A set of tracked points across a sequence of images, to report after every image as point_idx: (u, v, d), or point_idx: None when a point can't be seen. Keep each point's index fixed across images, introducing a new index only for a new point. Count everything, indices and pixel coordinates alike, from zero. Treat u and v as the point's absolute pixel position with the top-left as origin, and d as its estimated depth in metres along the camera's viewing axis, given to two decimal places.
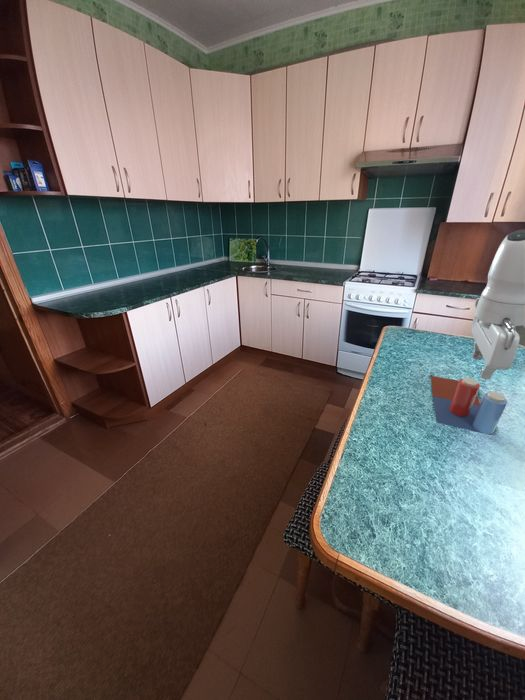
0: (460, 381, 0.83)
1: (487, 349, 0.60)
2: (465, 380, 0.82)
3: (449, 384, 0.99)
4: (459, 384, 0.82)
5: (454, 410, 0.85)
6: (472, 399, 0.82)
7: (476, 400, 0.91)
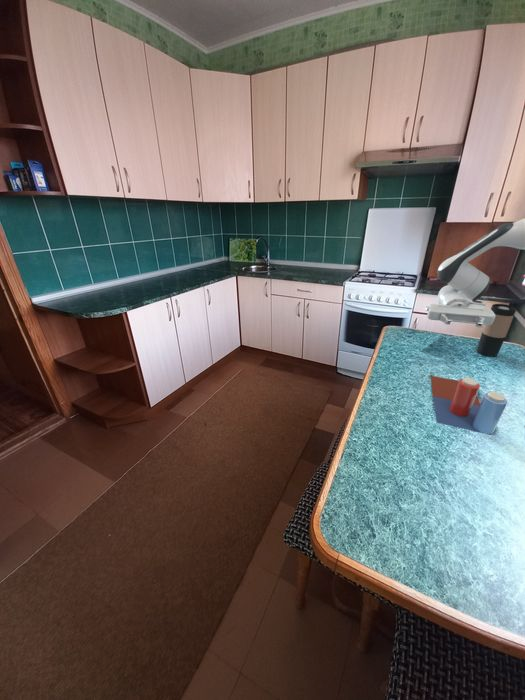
0: (460, 381, 0.83)
1: None
2: (465, 380, 0.82)
3: (449, 384, 0.99)
4: (459, 384, 0.82)
5: (454, 410, 0.85)
6: (472, 399, 0.82)
7: (476, 400, 0.91)
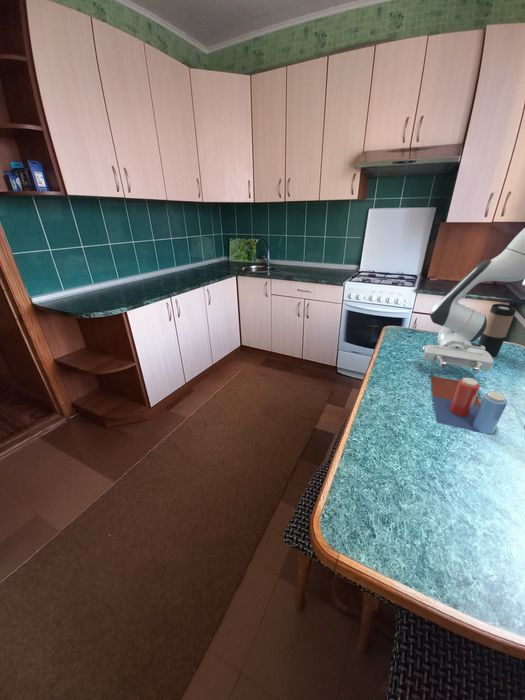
0: (460, 381, 0.83)
1: None
2: (465, 380, 0.82)
3: (449, 384, 0.99)
4: (459, 384, 0.82)
5: (454, 410, 0.85)
6: (472, 399, 0.82)
7: (476, 400, 0.91)
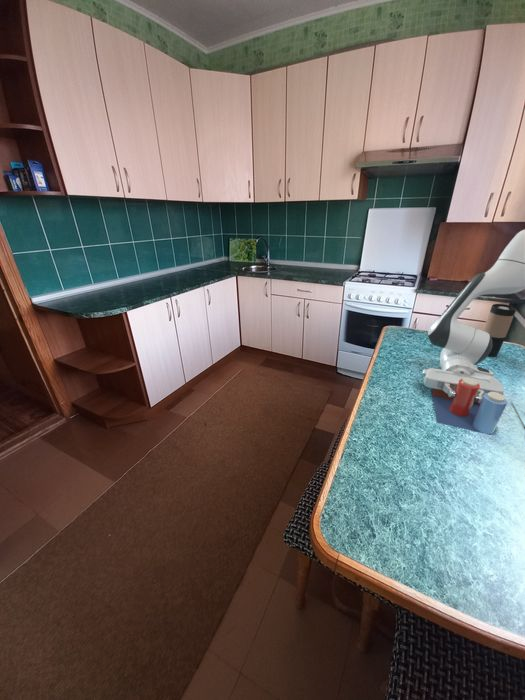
0: (460, 381, 0.83)
1: None
2: (465, 380, 0.82)
3: None
4: (459, 384, 0.82)
5: (454, 410, 0.85)
6: (472, 399, 0.82)
7: None
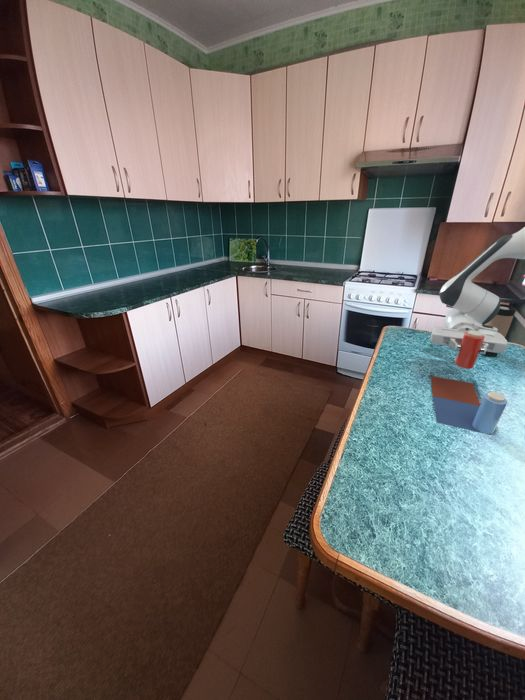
0: (465, 333, 0.86)
1: None
2: (470, 332, 0.85)
3: (449, 384, 0.99)
4: (464, 336, 0.86)
5: (460, 363, 0.88)
6: (477, 350, 0.85)
7: (476, 400, 0.91)
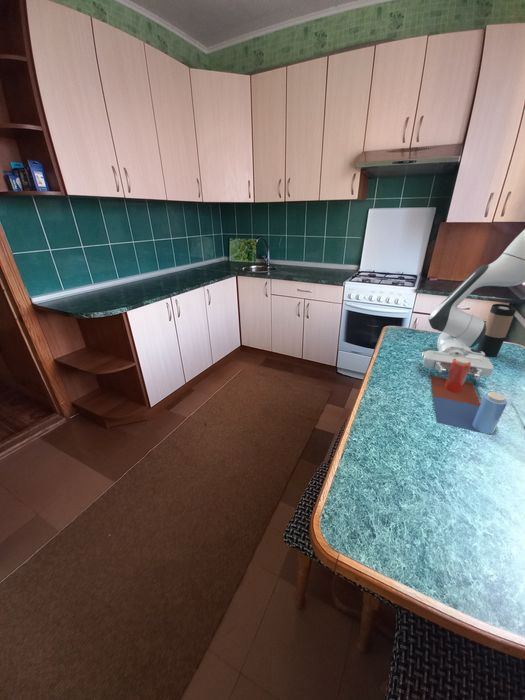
0: (453, 360, 0.94)
1: None
2: (458, 359, 0.93)
3: None
4: (452, 363, 0.93)
5: (449, 386, 0.96)
6: (464, 376, 0.92)
7: (476, 400, 0.91)
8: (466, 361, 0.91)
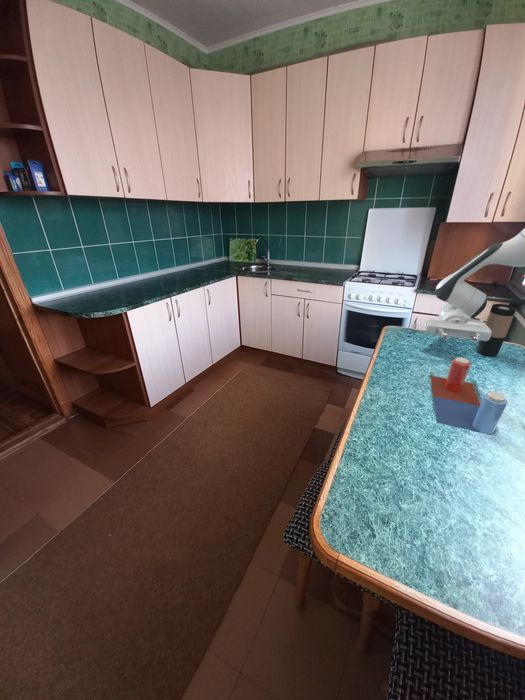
0: (453, 360, 0.94)
1: None
2: (458, 359, 0.93)
3: None
4: (452, 363, 0.93)
5: (449, 386, 0.96)
6: (464, 376, 0.92)
7: (476, 400, 0.91)
8: (466, 361, 0.91)
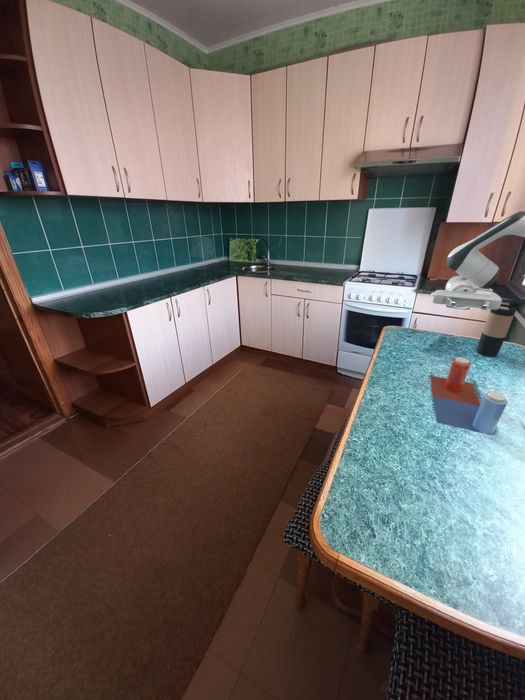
0: (453, 360, 0.94)
1: None
2: (458, 359, 0.93)
3: None
4: (452, 363, 0.93)
5: (449, 386, 0.96)
6: (464, 376, 0.92)
7: (476, 400, 0.91)
8: (466, 361, 0.91)
